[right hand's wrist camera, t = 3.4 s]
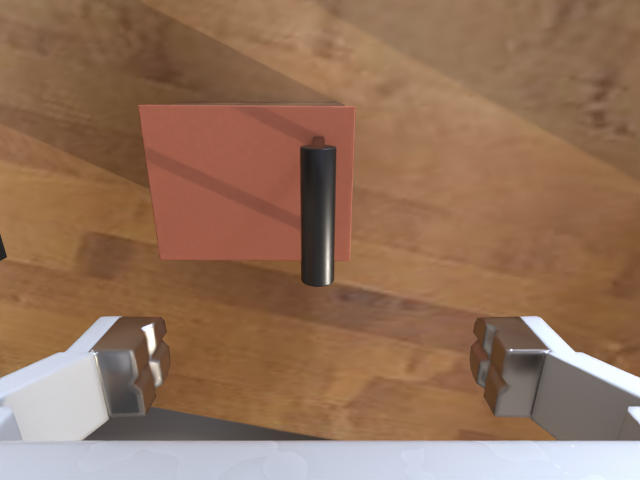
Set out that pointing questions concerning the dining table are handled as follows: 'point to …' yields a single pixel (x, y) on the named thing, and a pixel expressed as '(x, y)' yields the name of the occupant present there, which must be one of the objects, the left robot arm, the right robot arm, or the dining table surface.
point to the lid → (252, 183)
